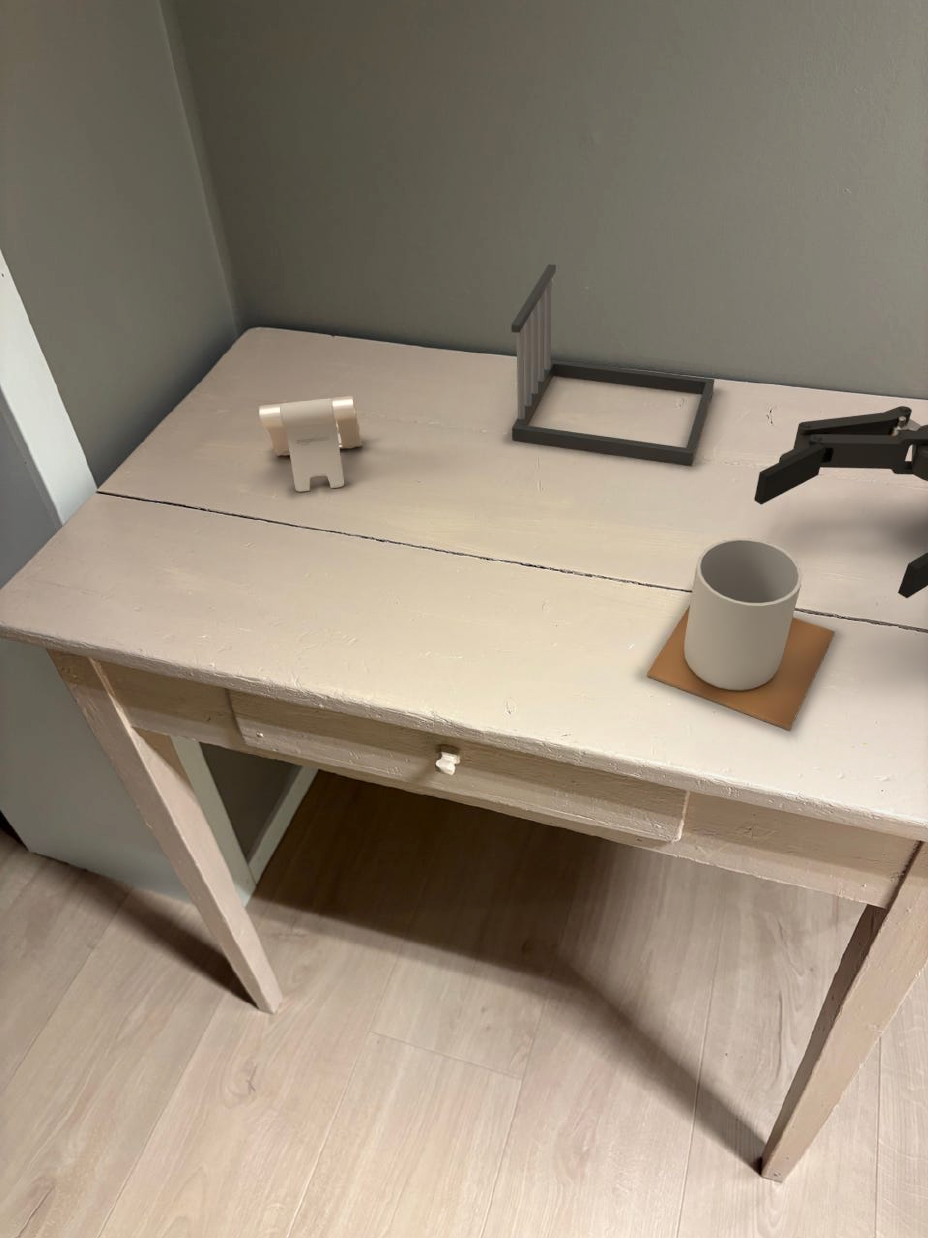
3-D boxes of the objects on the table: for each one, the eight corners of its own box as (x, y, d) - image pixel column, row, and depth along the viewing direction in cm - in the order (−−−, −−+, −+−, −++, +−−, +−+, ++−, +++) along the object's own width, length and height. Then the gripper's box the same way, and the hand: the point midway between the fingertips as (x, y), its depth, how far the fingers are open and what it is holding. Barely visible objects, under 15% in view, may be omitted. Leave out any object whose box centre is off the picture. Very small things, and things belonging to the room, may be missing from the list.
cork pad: (833, 634, 75) (835, 631, 75) (789, 730, 69) (790, 727, 68) (700, 590, 80) (700, 586, 79) (646, 676, 73) (647, 672, 73)
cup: (669, 674, 73) (682, 587, 66) (710, 593, 79) (725, 506, 72) (764, 706, 70) (787, 618, 64) (799, 619, 76) (823, 531, 70)
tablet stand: (361, 439, 98) (350, 366, 92) (365, 484, 93) (353, 409, 87) (277, 449, 98) (261, 376, 92) (275, 495, 92) (258, 420, 86)
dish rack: (712, 391, 101) (729, 278, 93) (691, 466, 92) (707, 348, 83) (548, 371, 106) (549, 261, 98) (512, 440, 97) (509, 326, 88)
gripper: (1138, 545, 73) (962, 666, 65) (871, 408, 89) (702, 493, 81) (1184, 464, 68) (999, 584, 60) (892, 333, 84) (714, 416, 76)
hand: (829, 532), depth 70 cm, fingers open, 13 cm apart
